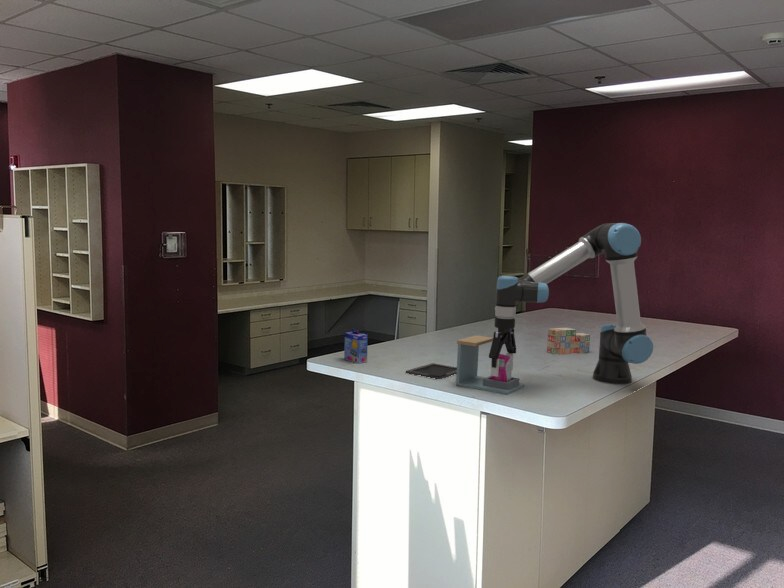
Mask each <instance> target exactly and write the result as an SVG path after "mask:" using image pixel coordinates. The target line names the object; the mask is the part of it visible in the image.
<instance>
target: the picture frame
mask: <svg viewBox="0 0 784 588" xmlns="http://www.w3.org/2000/svg"><path fill="white" fill-rule="evenodd" d="M406 373H409V374H408V375H411V374H415V375H414V376H417V375H421V376H420V377H422V376H426V377H425V378H427V377H430V378H429V379H432V378H435V379H434V380H437V379H441V380H443V379H442V378H444V379H446V377H447V378H449V376H450V377H452V376H451V375H453V376H455V375H454V374H457V366H456V367H455V366H451V365H450V366H449V365H445V364H440V363H439V364H438V363H434V362H432V363H428V364H425V365H424V364H423V365H421V366H418V367H415V368H410V369H407V370H405V374H406Z"/></svg>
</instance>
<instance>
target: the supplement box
mask: <svg viewBox="0 0 784 588" xmlns="http://www.w3.org/2000/svg"><path fill="white" fill-rule="evenodd" d="M498 359H499V371H498V377H496V376H492V380H497V381H502V382H509V381H511V377H512V371H513V370H512V355H506V354H504V353H500V354H499V357H498Z"/></svg>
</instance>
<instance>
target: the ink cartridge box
mask: <svg viewBox="0 0 784 588" xmlns="http://www.w3.org/2000/svg"><path fill="white" fill-rule="evenodd" d="M350 329H351V331H347V332H346V331H345V332H344V350H343V351H344V353H343V354H344V355H343V358H344V360H345V361H348V362H352V363H356V364H363V363H367V362H368V340H369V338H368V334H365V333H360V332H359V331H358V329H356V328H350Z"/></svg>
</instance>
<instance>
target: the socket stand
mask: <svg viewBox="0 0 784 588" xmlns="http://www.w3.org/2000/svg"><path fill="white" fill-rule="evenodd" d="M492 341H493V337H490V336H483V335H471V336H469V337H465V338H460V339H458V340H456V344H457V354H456V355H457V358H456V359H457V360H456V367H457V374H456V377H455V378H456V379H455V385H456V386H458V385H459V387H464V386H465V388H469V387H471V388H470V389H475V388H476V389H475V390H480V389H482V390H481V391H485V390H487V391H486V392H491V391H492V392H491V393H496V394H497V393H498V394H501V395H502V394H503V395H509V394H512V393H513V392H515V390H516V391H518V390H519V388H520V389H522V388H523V387H525V384H524V383H522V382H521V383H520V381H521V380H520V378H518V377H512V376H511V381H509V382H502V381H497V380H492V376H491V375H489V376H487V377H486V376H480V375H478V367H479V348H480V346H482V345H485V344H488V343H492Z"/></svg>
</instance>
